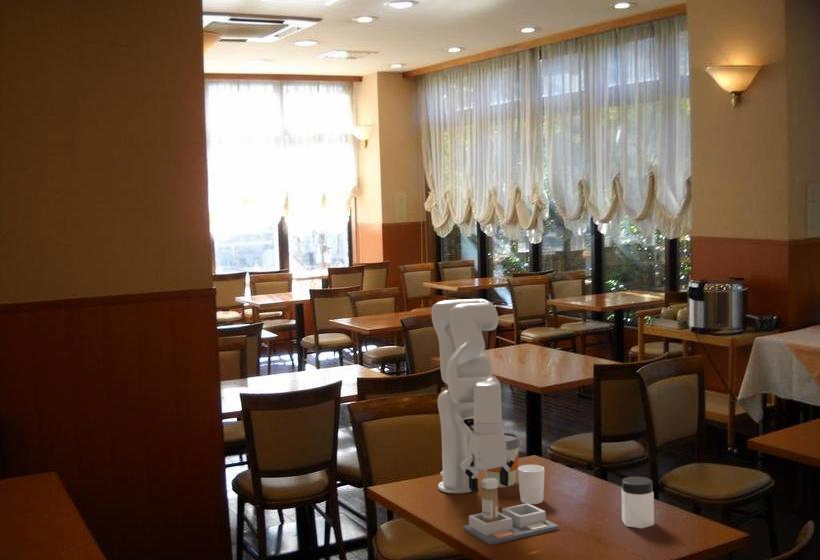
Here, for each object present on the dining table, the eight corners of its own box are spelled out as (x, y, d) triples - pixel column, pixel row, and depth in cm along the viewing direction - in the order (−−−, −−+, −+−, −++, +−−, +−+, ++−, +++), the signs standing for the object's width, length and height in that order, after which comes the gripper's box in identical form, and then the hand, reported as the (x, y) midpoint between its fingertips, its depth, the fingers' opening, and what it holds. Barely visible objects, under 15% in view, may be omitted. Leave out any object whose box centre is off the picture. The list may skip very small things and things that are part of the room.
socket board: (463, 529, 258) (462, 515, 258) (529, 514, 268) (528, 501, 268) (490, 545, 246) (490, 530, 246) (558, 529, 256) (558, 514, 256)
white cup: (544, 496, 285) (543, 464, 284) (545, 505, 277) (545, 471, 276) (518, 496, 285) (517, 464, 284) (518, 505, 277) (518, 472, 277)
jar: (617, 525, 257) (616, 482, 256) (626, 516, 264) (625, 474, 263) (650, 530, 253) (649, 486, 252) (657, 520, 260) (657, 478, 259)
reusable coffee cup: (527, 480, 302) (525, 434, 300) (509, 491, 291) (508, 443, 290) (492, 475, 308) (490, 430, 307) (474, 485, 298) (472, 439, 296)
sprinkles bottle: (502, 528, 255) (501, 480, 254) (489, 532, 253) (488, 483, 252) (491, 523, 259) (491, 476, 258) (478, 527, 257) (477, 479, 255)
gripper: (506, 419, 261) (507, 479, 263) (453, 428, 253) (454, 490, 255) (522, 425, 254) (523, 486, 256) (467, 435, 246) (469, 498, 248)
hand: (489, 488), depth 256 cm, fingers open, 9 cm apart
